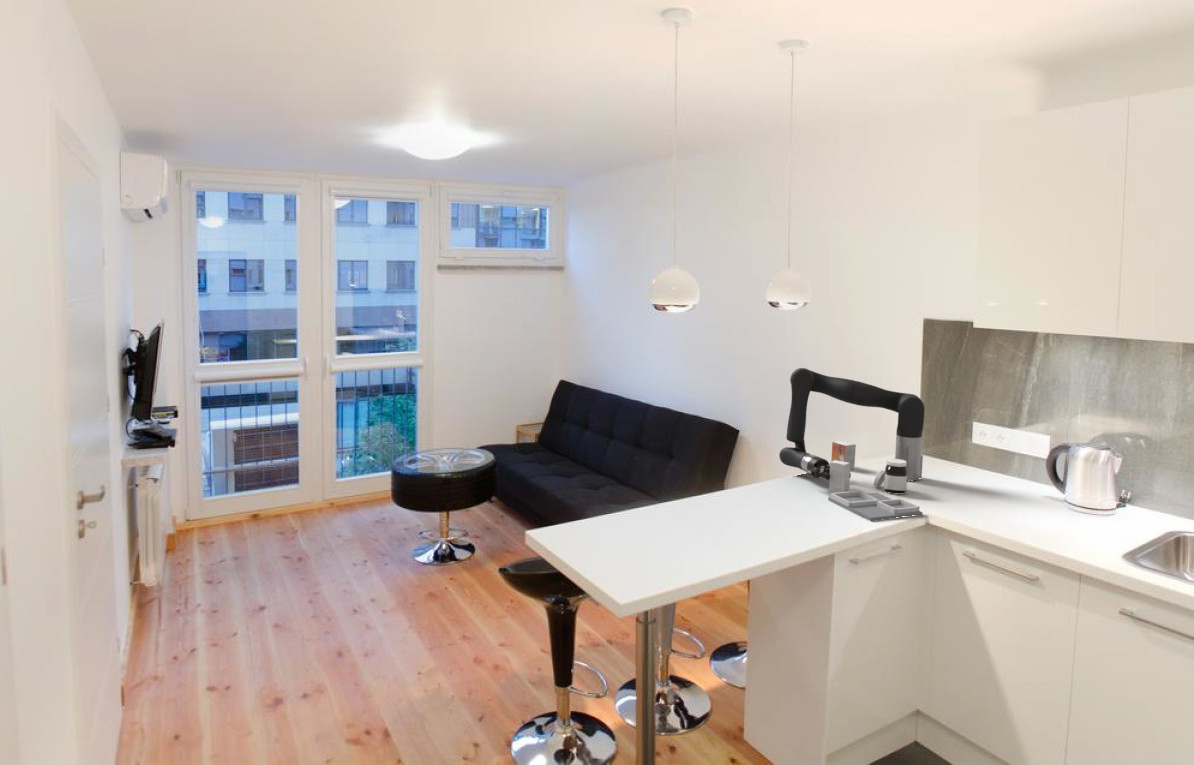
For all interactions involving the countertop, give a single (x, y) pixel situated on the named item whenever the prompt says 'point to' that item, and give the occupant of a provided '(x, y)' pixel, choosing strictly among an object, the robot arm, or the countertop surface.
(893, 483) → the spread jar
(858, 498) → the compartment tray
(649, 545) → the countertop surface
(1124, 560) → the countertop surface
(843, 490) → the skincare box
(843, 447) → the small box
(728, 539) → the countertop surface
